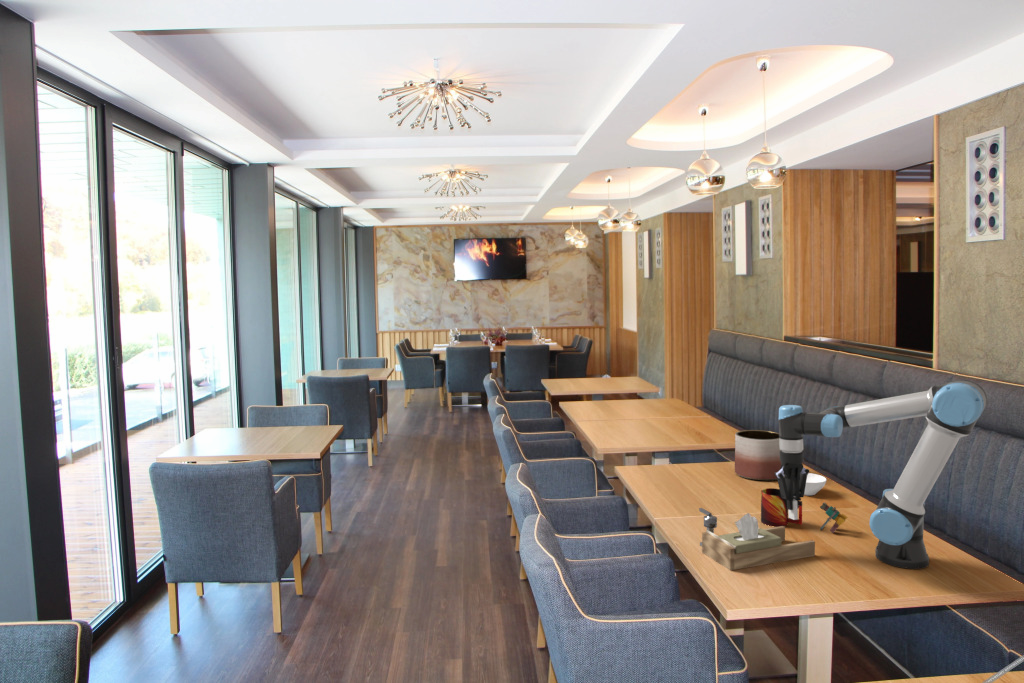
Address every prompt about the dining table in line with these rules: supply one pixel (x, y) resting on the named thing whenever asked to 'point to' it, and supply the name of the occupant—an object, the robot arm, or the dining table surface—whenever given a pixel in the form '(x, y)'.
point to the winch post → (709, 521)
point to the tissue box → (751, 536)
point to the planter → (757, 454)
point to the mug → (776, 509)
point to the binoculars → (833, 516)
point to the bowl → (814, 484)
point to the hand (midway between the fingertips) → (793, 518)
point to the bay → (732, 561)
